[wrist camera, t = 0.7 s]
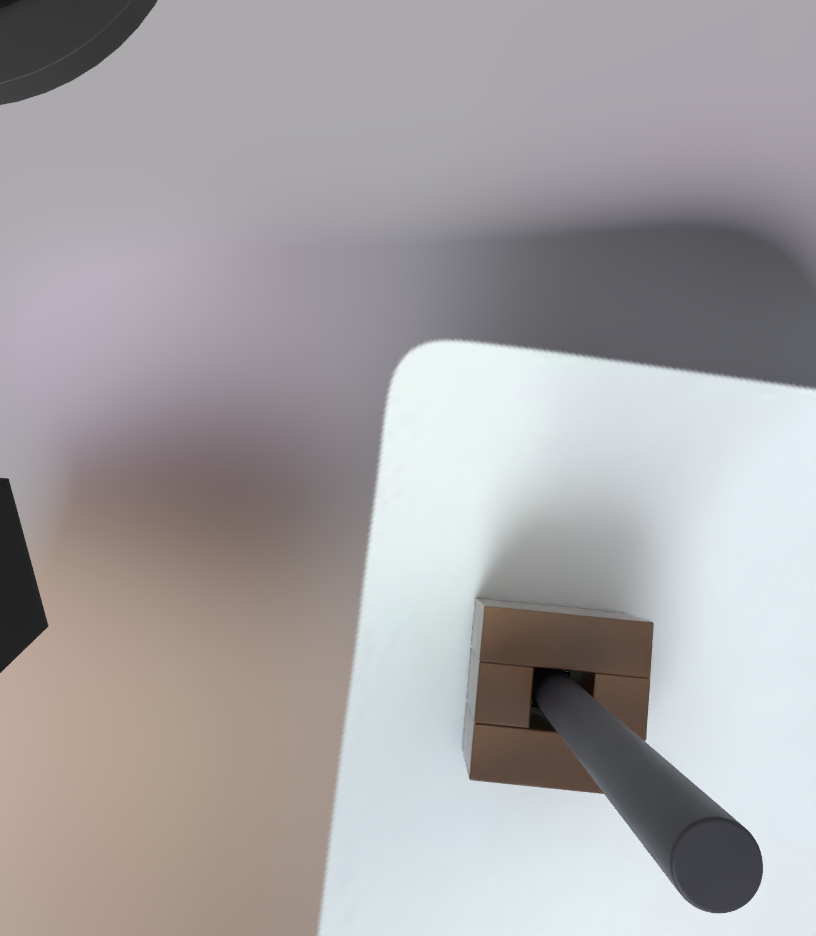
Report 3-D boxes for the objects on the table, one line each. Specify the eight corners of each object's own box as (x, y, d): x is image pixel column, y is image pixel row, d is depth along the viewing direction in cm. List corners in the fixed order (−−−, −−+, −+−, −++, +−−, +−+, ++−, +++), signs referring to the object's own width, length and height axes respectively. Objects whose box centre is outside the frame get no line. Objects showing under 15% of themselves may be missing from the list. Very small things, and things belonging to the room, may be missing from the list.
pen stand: (475, 597, 35) (484, 605, 30) (623, 612, 35) (653, 622, 30) (461, 749, 34) (469, 780, 30) (612, 765, 34) (642, 798, 30)
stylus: (538, 652, 35) (706, 798, 15) (570, 676, 35) (783, 857, 15) (515, 684, 35) (652, 874, 15) (547, 708, 34) (729, 935, 15)
